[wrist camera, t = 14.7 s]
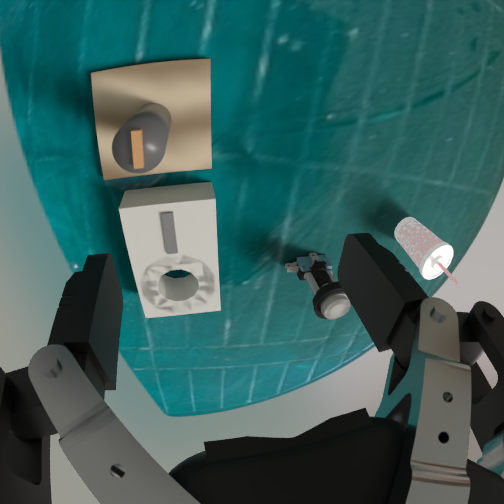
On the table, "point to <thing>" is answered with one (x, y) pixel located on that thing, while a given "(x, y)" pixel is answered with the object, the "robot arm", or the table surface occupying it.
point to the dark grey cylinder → (142, 139)
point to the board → (162, 92)
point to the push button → (322, 285)
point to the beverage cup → (424, 248)
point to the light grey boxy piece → (173, 247)
